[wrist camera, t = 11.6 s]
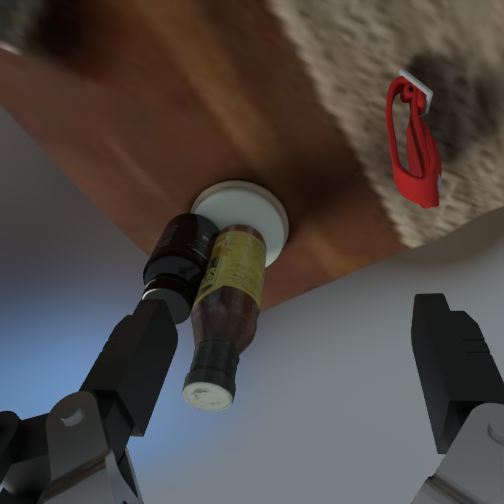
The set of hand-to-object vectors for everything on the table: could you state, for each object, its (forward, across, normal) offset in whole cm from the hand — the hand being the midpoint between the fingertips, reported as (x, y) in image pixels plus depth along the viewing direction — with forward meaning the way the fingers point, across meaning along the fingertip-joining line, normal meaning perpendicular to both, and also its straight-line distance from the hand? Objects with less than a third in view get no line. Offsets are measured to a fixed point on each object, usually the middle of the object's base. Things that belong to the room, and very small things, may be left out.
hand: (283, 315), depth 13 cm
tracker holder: (+31, -9, +6) cm, 33 cm away
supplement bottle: (+28, +14, +14) cm, 35 cm away
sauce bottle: (+28, +9, +16) cm, 33 cm away
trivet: (+30, +9, +15) cm, 35 cm away
